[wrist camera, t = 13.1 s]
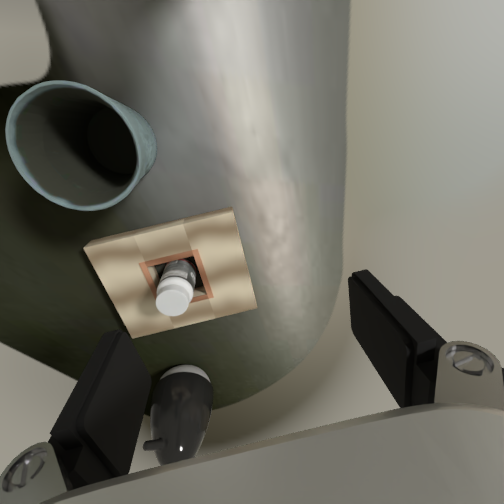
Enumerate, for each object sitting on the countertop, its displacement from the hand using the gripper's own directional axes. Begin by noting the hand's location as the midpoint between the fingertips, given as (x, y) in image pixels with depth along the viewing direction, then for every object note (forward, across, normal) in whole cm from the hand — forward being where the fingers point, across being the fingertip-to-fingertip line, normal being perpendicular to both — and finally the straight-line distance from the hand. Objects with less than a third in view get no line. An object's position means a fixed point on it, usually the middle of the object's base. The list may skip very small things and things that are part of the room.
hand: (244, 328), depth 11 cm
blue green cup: (+28, +11, -8) cm, 32 cm away
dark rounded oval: (+28, +16, +32) cm, 46 cm away
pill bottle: (+28, +10, +11) cm, 32 cm away
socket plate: (+28, +10, +11) cm, 32 cm away
